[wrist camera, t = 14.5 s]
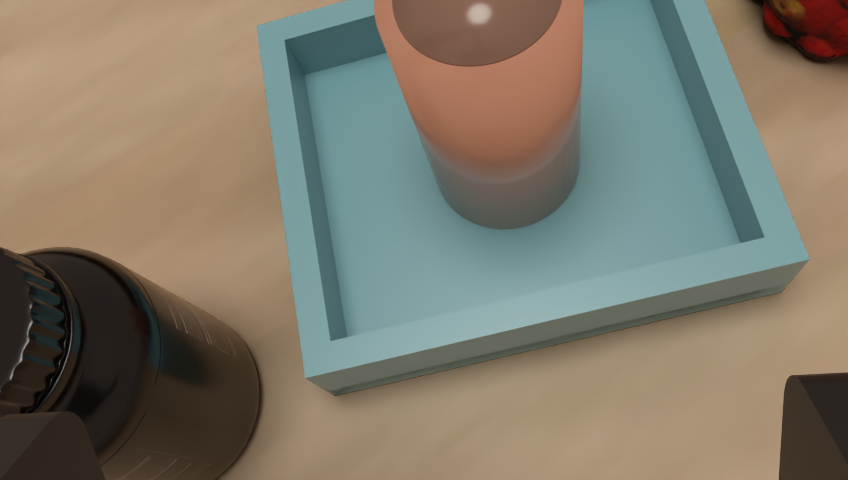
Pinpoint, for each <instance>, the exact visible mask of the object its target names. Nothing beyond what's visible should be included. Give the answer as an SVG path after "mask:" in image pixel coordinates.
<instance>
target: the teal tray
mask: <svg viewBox="0 0 848 480" xmlns="http://www.w3.org/2000/svg"><path fill="white" fill-rule="evenodd" d="M257 33H258V40H259V48H260V55H261V62H262V69H263V77H264V84H265V91H266V98H267V105H268V113H269V120H270V127H271V134H272V142H273V149H274V156H275V163H276V170H277V178H278V185H279V192H280V199H281V207H282V214H283V221H284V228H285V236H286V243H287V250H288V257H289V264H290V272H291V279H292V286H293V293H294V301H295V308H296V315H297V322H298V329H299V337H300V344H301V351H302V358H303V366H304V373H305V378H306V379H308V380H309V381H311V382H313V383H314V384H316V385H318V386H319V387H321V388H323V389H325V390H326V391H328V392H330V393H331V394H333V395H335V396H337V395H341V394H345V393H350V392H354V391H358V390H362V389H367V388H371V387H375V386H380V385H384V384H388V383H393V382H397V381H401V380H405V379H410V378H414V377H418V376H423V375H427V374H431V373H436V372H440V371H444V370H448V369H453V368H457V367H461V366H466V365H470V364H474V363H479V362H483V361H487V360H491V359H496V358H500V357H504V356H509V355H513V354H517V353H522V352H526V351H530V350H534V349H539V348H543V347H547V346H552V345H556V344H560V343H565V342H569V341H573V340H577V339H582V338H586V337H590V336H595V335H599V334H603V333H608V332H612V331H616V330H620V329H625V328H629V327H633V326H638V325H642V324H646V323H651V322H655V321H659V320H664V319H668V318H672V317H676V316H681V315H685V314H689V313H694V312H698V311H702V310H707V309H711V308H715V307H719V306H724V305H728V304H732V303H737V302H741V301H745V300H750V299H754V298H758V297H762V296H767V295H771V294H775V293H780V292H782V291H783V290H784V289H785V287H786V286H787V285H788V284H789V283H790V282H791V280H792V279H793V278H794V277H795V276H796V275H797V273H798V272H799V271H800V270H801V269H802V268H803V266H804V265H805V264H806V263H807V262H808V261H809V260H810V259H809V257H808V254H807V252H806V249H805V247H804V244H803V242H802V239H801V237H800V234H799V232H798V230H797V227H796V225H795V222H794V220H793V217H792V215H791V212H790V210H789V207H788V205H787V202H786V200H785V197H784V195H783V193H782V190H781V188H780V185H779V183H778V180H777V178H776V175H775V173H774V170H773V168H772V165H771V163H770V160H769V158H768V156H767V153H766V151H765V148H764V146H763V143H762V141H761V138H760V136H759V133H758V131H757V128H756V126H755V123H754V121H753V119H752V116H751V114H750V111H749V109H748V106H747V104H746V101H745V99H744V96H743V94H742V91H741V89H740V86H739V84H738V82H737V79H736V77H735V74H734V72H733V69H732V67H731V64H730V62H729V59H728V57H727V54H726V52H725V49H724V47H723V45H722V42H721V40H720V37H719V35H718V32H717V30H716V27H715V25H714V22H713V20H712V17H711V15H710V12H709V10H708V8H707V5H706V3H705V0H584V2H583V46H582V90H581V134H580V166H579V173H578V177H577V180H576V183H575V185H574V188H573V190H572V191H571V193H570V195H569V196H568V198H567V199H566V200H565V202H564V203H563V204H562V205H561V206H560V207H559V208H558V209H557V210H556V211H554V212H553V213H552V214H550V215H549V216H548V217H546V218H544V219H542V220H541V221H539V222H536V223H534V224H532V225H528V226H525V227H521V228H515V229H492V228H487V227H483V226H480V225H477V224H474V223H472V222H470V221H468V220H466V219H465V218H463V217H462V216H460V215H459V214H457V213H456V212H455V211H454V210H453V209H452V208H451V207H450V206H449V205H448V203H447V202H446V201H445V199H444V198H443V196H442V194H441V192H440V190H439V187H438V185H437V182H436V180H435V177H434V175H433V172H432V169H431V167H430V164H429V162H428V159H427V156H426V154H425V151H424V148H423V146H422V143H421V141H420V138H419V135H418V133H417V130H416V128H415V125H414V122H413V120H412V117H411V115H410V112H409V109H408V107H407V104H406V101H405V99H404V96H403V94H402V91H401V88H400V86H399V83H398V81H397V78H396V75H395V73H394V70H393V68H392V65H391V62H390V60H389V57H388V54H387V52H386V49H385V47H384V44H383V41H382V39H381V36H380V34H379V31H378V28H377V24H376V20H375V14H374V0H347V1H343V2H339V3H336V4H332V5H329V6H325V7H322V8H318V9H314V10H311V11H307V12H304V13H300V14H296V15H293V16H289V17H286V18H282V19H279V20H275V21H271V22H268V23H264V24H261V25H257Z"/></svg>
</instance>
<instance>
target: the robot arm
mask: <svg viewBox="0 0 848 480" xmlns="http://www.w3.org/2000/svg"><path fill="white" fill-rule="evenodd" d="M0 480H106V479H105V477H104V474H103V472H102V469H101V466H100V464H99V461H98V458H97V456H96V453H95V451H94V448H93V445H92V443H91V440H90V438H89V435H88V432H87V430H86V427H85V425H84V423H83V422H82V420H81V419H80V418H79V417H78V416H77V415H76V414H74V413H73V412H69V411H65V412H46V413H27V414H9V415H6V416H3V417H2V418H0ZM779 480H848V373H829V374H809V375H791V376H790V377H789V378H788V379H787V382H786V385H785V390H784V402H783V419H782V436H781V452H780V469H779Z"/></svg>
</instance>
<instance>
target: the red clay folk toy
mask: <svg viewBox="0 0 848 480" xmlns="http://www.w3.org/2000/svg"><path fill="white" fill-rule="evenodd" d="M762 10H763V21H764V23H765V24H766V26H767V27H768V28H769V29H770V31H771V32H773V33H774V35H778V36H782V37H783V38H785V39H786V40H787V41H789V42H790V43H792V44H793V45H795V46H796V47H797V48H798V49H799V50H800V52H802V53H803V54H804V55H806V56H808V57H810V58H812V59H814V60H820V61H832V60H835V59H838V58H839V57H841V56H843V55H846V54H848V0H764V5H763V8H762Z"/></svg>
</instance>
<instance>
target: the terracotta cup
mask: <svg viewBox="0 0 848 480" xmlns="http://www.w3.org/2000/svg"><path fill="white" fill-rule="evenodd" d="M583 2H584V0H374V14H375V20H376V24H377V28H378V31H379V34H380V36H381V39H382V41H383V44H384V47H385V49H386V52H387V54H388V57H389V60H390V62H391V65H392V68H393V70H394V73H395V75H396V78H397V81H398V83H399V86H400V88H401V91H402V94H403V96H404V99H405V101H406V104H407V107H408V109H409V112H410V115H411V117H412V120H413V122H414V125H415V128H416V130H417V133H418V135H419V138H420V141H421V143H422V146H423V148H424V151H425V154H426V156H427V159H428V162H429V164H430V167H431V169H432V172H433V175H434V177H435V180H436V182H437V185H438V187H439V190H440V192H441V194H442V196H443V198H444V199H445V201H446V202H447V203H448V205H449V206H450V207H451V208H452V209H453V210H454V211H455V212H456V213H457V214H459V215H460V216H462V217H463V218H465V219H466V220H468V221H470V222H472V223H474V224H477V225H480V226H483V227H487V228H492V229H515V228H521V227H525V226H528V225H532V224H534V223H536V222H539V221H541V220H542V219H544V218H546V217H548V216H549V215H550V214H552V213H553V212H554V211H556V210H557V209H558V208H559V207H560V206H561V205H562V204H563V203H564V202H565V200H566V199H567V198H568V196H569V195H570V193H571V191H572V190H573V188H574V185H575V183H576V180H577V177H578V173H579V166H580V134H581V90H582V46H583Z"/></svg>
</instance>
